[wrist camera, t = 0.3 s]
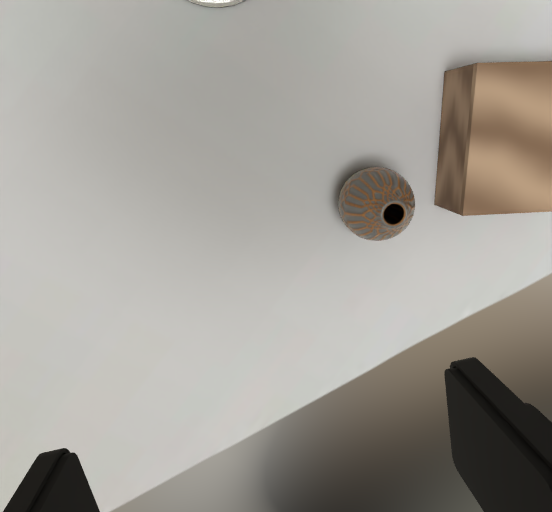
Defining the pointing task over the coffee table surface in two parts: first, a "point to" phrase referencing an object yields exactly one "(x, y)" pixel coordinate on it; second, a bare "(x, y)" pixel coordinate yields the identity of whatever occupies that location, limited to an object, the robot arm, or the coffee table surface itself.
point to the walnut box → (496, 139)
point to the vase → (376, 203)
